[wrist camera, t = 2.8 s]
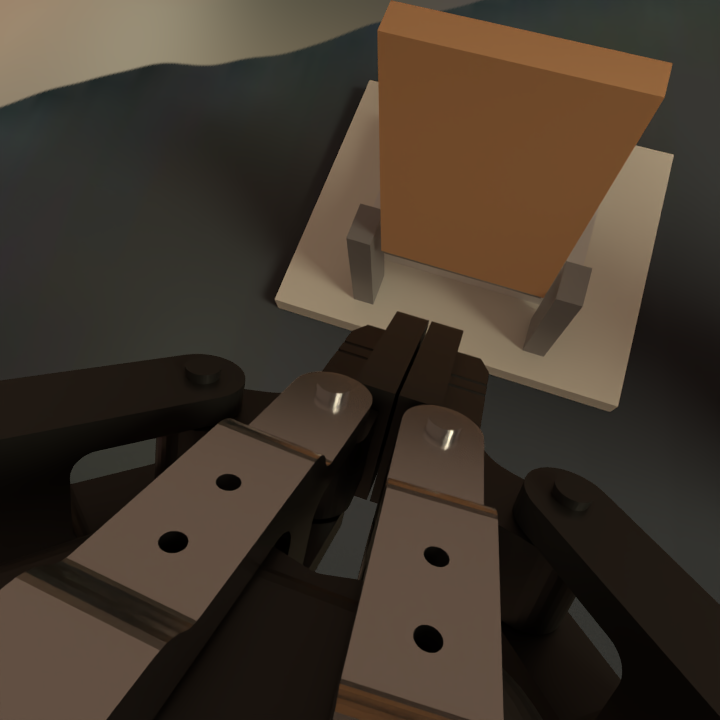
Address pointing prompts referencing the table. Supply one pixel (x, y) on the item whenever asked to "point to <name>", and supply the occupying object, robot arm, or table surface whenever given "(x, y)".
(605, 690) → the robot arm
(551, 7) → the table surface
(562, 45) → the brown flat panel
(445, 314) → the heatsink board
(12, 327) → the table surface
